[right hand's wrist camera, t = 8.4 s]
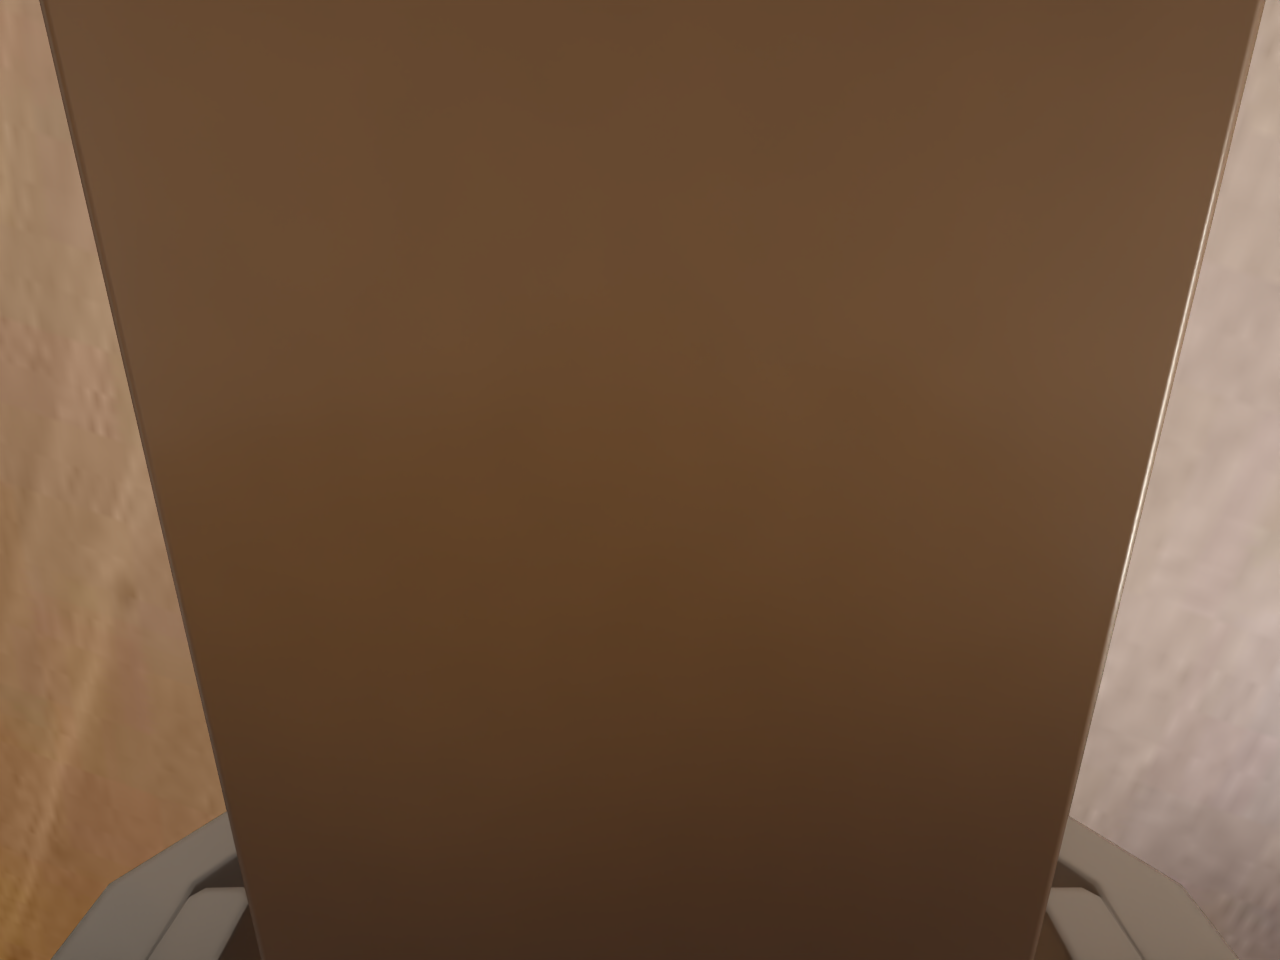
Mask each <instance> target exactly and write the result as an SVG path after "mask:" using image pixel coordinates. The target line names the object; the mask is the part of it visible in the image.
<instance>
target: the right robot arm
mask: <svg viewBox="0 0 1280 960" xmlns="http://www.w3.org/2000/svg"><path fill="white" fill-rule="evenodd" d="M51 960H261V956H260V952H259V948H258V943H257V939H256V935H255V930H254V926H253V922H252V917H251V913H250V909H249V904H248V900H247V896H246V892H245V887H244V883H243V879H242V874H241V870H240V866H239V861H238V857H237V853H236V848H235V844H234V840H233V835H232V831H231V827H230V822H229V818H228V814H227V811H226V812H225V813H223V814H222V815H220V816H218V817H217V818H215V819H214V820H212V821H210V822H209V823H207V824H205V825H204V826H202V827H201V828H199V829H197V830H196V831H194V832H192V833H191V834H189V835H188V836H186V837H184V838H183V839H181V840H180V841H178V842H176V843H175V844H173V845H171V846H170V847H168V848H167V849H165V850H163V851H162V852H160V853H159V854H157V855H155V856H154V857H152V858H150V859H149V860H147V861H146V862H144V863H142V864H141V865H139V866H137V867H136V868H134V869H133V870H131V871H129V872H128V873H126V874H125V875H123V876H121V877H120V878H118V879H116V880H115V881H113V882H112V883H110V884H109V885H108V886H107V887H106V889H105V890H104V891H103V893H102V894H101V895H100V896H99V898H98V899H97V900H96V902H95V903H94V904H93V906H92V907H91V908H90V909H89V911H88V912H87V913H86V915H85V916H84V917H83V919H82V920H81V921H80V922H79V924H78V925H77V926H76V928H75V929H74V930H73V931H72V933H71V934H70V935H69V937H68V938H67V939H66V941H65V942H64V943H63V944H62V946H61V947H60V948H59V950H58V951H57V952H56V953H55V955H54V956H53V957H52V959H51ZM1034 960H1240V959H1239V958H1238V957H1237V955H1236V954H1235V953H1234V952H1233V950H1232V949H1231V948H1230V947H1229V945H1228V944H1227V943H1226V941H1225V940H1224V939H1223V938H1222V936H1221V935H1220V934H1219V932H1218V931H1217V930H1216V929H1215V927H1214V926H1213V925H1212V923H1211V922H1210V921H1209V920H1208V918H1207V917H1206V916H1205V914H1204V913H1203V912H1202V911H1201V909H1200V908H1199V907H1198V906H1197V904H1196V903H1195V902H1194V900H1193V899H1192V898H1191V897H1190V895H1189V894H1188V893H1187V891H1186V890H1185V889H1184V888H1183V886H1182V885H1180V884H1179V883H1177V882H1176V881H1174V880H1172V879H1171V878H1169V877H1167V876H1166V875H1164V874H1163V873H1161V872H1159V871H1158V870H1156V869H1154V868H1153V867H1151V866H1150V865H1148V864H1146V863H1145V862H1143V861H1141V860H1140V859H1138V858H1136V857H1135V856H1133V855H1132V854H1130V853H1128V852H1127V851H1125V850H1123V849H1122V848H1120V847H1119V846H1117V845H1115V844H1114V843H1112V842H1110V841H1109V840H1107V839H1106V838H1104V837H1102V836H1101V835H1099V834H1097V833H1096V832H1094V831H1093V830H1091V829H1089V828H1088V827H1086V826H1084V825H1083V824H1081V823H1080V822H1078V821H1076V820H1075V819H1073V818H1071V817H1070V816H1068V820H1067V824H1066V828H1065V832H1064V836H1063V841H1062V845H1061V849H1060V853H1059V857H1058V861H1057V865H1056V870H1055V874H1054V878H1053V882H1052V886H1051V890H1050V894H1049V899H1048V903H1047V907H1046V911H1045V915H1044V919H1043V923H1042V928H1041V932H1040V936H1039V940H1038V944H1037V948H1036V952H1035V957H1034Z"/></svg>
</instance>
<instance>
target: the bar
mask: <svg viewBox="0 0 1280 960" xmlns="http://www.w3.org/2000/svg"><path fill="white" fill-rule="evenodd" d="M39 1H40V5H41V10H42V14H43V18H44V23H45V27H46V31H47V36H48V40H49V44H50V48H51V53H52V57H53V61H54V66H55V70H56V74H57V79H58V83H59V87H60V92H61V96H62V100H63V105H64V109H65V113H66V118H67V122H68V126H69V131H70V135H71V139H72V144H73V148H74V152H75V157H76V161H77V165H78V170H79V174H80V178H81V183H82V187H83V191H84V195H85V200H86V204H87V208H88V213H89V217H90V221H91V226H92V230H93V234H94V239H95V243H96V247H97V252H98V256H99V260H100V265H101V269H102V273H103V278H104V282H105V286H106V291H107V295H108V299H109V304H110V308H111V312H112V317H113V321H114V325H115V330H116V334H117V338H118V342H119V347H120V351H121V355H122V360H123V364H124V368H125V373H126V377H127V381H128V386H129V390H130V394H131V399H132V403H133V407H134V412H135V416H136V420H137V425H138V429H139V433H140V438H141V442H142V446H143V451H144V455H145V459H146V464H147V468H148V472H149V476H150V481H151V485H152V489H153V494H154V498H155V502H156V507H157V511H158V515H159V520H160V524H161V528H162V533H163V537H164V541H165V546H166V550H167V554H168V559H169V563H170V567H171V572H172V576H173V580H174V585H175V589H176V593H177V598H178V602H179V606H180V611H181V615H182V619H183V623H184V628H185V632H186V636H187V641H188V645H189V649H190V654H191V658H192V662H193V667H194V671H195V675H196V680H197V684H198V688H199V693H200V697H201V701H202V706H203V710H204V714H205V719H206V723H207V727H208V732H209V736H210V740H211V745H212V749H213V753H214V758H215V762H216V766H217V770H218V775H219V779H220V783H221V788H222V792H223V796H224V801H225V805H226V809H227V814H228V818H229V822H230V827H231V831H232V835H233V840H234V844H235V848H236V853H237V857H238V861H239V866H240V870H241V874H242V879H243V883H244V887H245V892H246V896H247V900H248V904H249V909H250V913H251V917H252V922H253V926H254V930H255V935H256V939H257V943H258V948H259V952H260V956H261V960H1034V957H1035V952H1036V948H1037V944H1038V940H1039V936H1040V932H1041V928H1042V923H1043V919H1044V915H1045V911H1046V907H1047V903H1048V899H1049V894H1050V890H1051V886H1052V882H1053V878H1054V874H1055V870H1056V865H1057V861H1058V857H1059V853H1060V849H1061V845H1062V841H1063V836H1064V832H1065V828H1066V824H1067V820H1068V816H1069V812H1070V807H1071V803H1072V799H1073V795H1074V791H1075V787H1076V783H1077V779H1078V774H1079V770H1080V766H1081V762H1082V758H1083V754H1084V750H1085V745H1086V741H1087V737H1088V733H1089V729H1090V725H1091V721H1092V716H1093V712H1094V708H1095V704H1096V700H1097V696H1098V692H1099V687H1100V683H1101V679H1102V675H1103V671H1104V667H1105V663H1106V658H1107V654H1108V650H1109V646H1110V642H1111V638H1112V634H1113V629H1114V625H1115V621H1116V617H1117V613H1118V609H1119V605H1120V601H1121V596H1122V592H1123V588H1124V584H1125V580H1126V576H1127V572H1128V567H1129V563H1130V559H1131V555H1132V551H1133V547H1134V543H1135V538H1136V534H1137V530H1138V526H1139V522H1140V518H1141V514H1142V509H1143V505H1144V501H1145V497H1146V493H1147V489H1148V485H1149V480H1150V476H1151V472H1152V468H1153V464H1154V460H1155V456H1156V451H1157V447H1158V443H1159V439H1160V435H1161V431H1162V427H1163V423H1164V418H1165V414H1166V410H1167V406H1168V402H1169V398H1170V394H1171V389H1172V385H1173V381H1174V377H1175V373H1176V369H1177V365H1178V360H1179V356H1180V352H1181V348H1182V344H1183V340H1184V336H1185V331H1186V327H1187V323H1188V319H1189V315H1190V311H1191V307H1192V302H1193V298H1194V294H1195V290H1196V286H1197V282H1198V278H1199V273H1200V269H1201V265H1202V261H1203V257H1204V253H1205V249H1206V245H1207V240H1208V236H1209V232H1210V228H1211V224H1212V220H1213V216H1214V211H1215V207H1216V203H1217V199H1218V195H1219V191H1220V187H1221V182H1222V178H1223V174H1224V170H1225V166H1226V162H1227V158H1228V153H1229V149H1230V145H1231V141H1232V137H1233V133H1234V129H1235V124H1236V120H1237V116H1238V112H1239V108H1240V104H1241V100H1242V95H1243V91H1244V87H1245V83H1246V79H1247V75H1248V71H1249V67H1250V62H1251V58H1252V54H1253V50H1254V46H1255V42H1256V38H1257V33H1258V29H1259V25H1260V21H1261V17H1262V13H1263V9H1264V4H1265V0H39Z"/></svg>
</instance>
